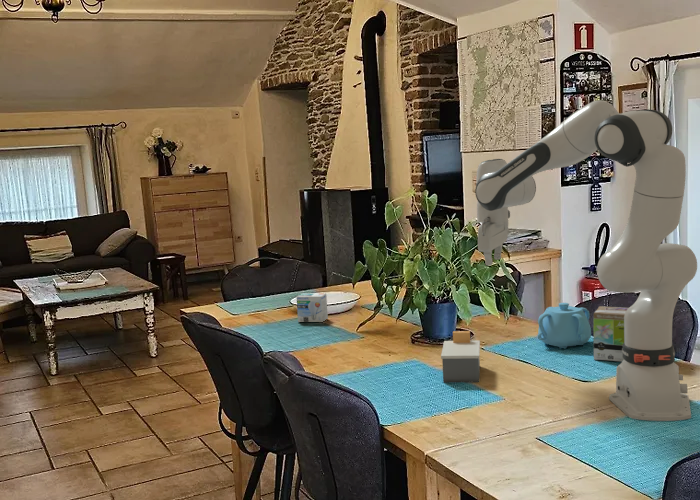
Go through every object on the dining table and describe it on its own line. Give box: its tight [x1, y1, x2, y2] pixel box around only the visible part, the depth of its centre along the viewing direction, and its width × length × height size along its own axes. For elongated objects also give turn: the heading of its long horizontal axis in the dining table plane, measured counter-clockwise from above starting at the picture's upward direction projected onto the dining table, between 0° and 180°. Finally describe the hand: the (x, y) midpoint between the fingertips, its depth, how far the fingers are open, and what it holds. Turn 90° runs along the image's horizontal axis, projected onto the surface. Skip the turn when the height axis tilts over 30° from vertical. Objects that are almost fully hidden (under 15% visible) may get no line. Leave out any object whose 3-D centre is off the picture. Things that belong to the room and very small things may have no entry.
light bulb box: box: [296, 292, 329, 323], centre depth 305 cm, size 11×7×11 cm, turn 73°
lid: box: [440, 330, 481, 360], centre depth 222 cm, size 17×11×5 cm, turn 170°
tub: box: [441, 357, 481, 384], centre depth 223 cm, size 16×10×7 cm, turn 170°
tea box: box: [592, 305, 629, 363], centre depth 228 cm, size 15×10×15 cm
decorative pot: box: [537, 302, 592, 349], centre depth 248 cm, size 16×16×14 cm
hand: (493, 262), depth 225 cm, fingers open, 8 cm apart
